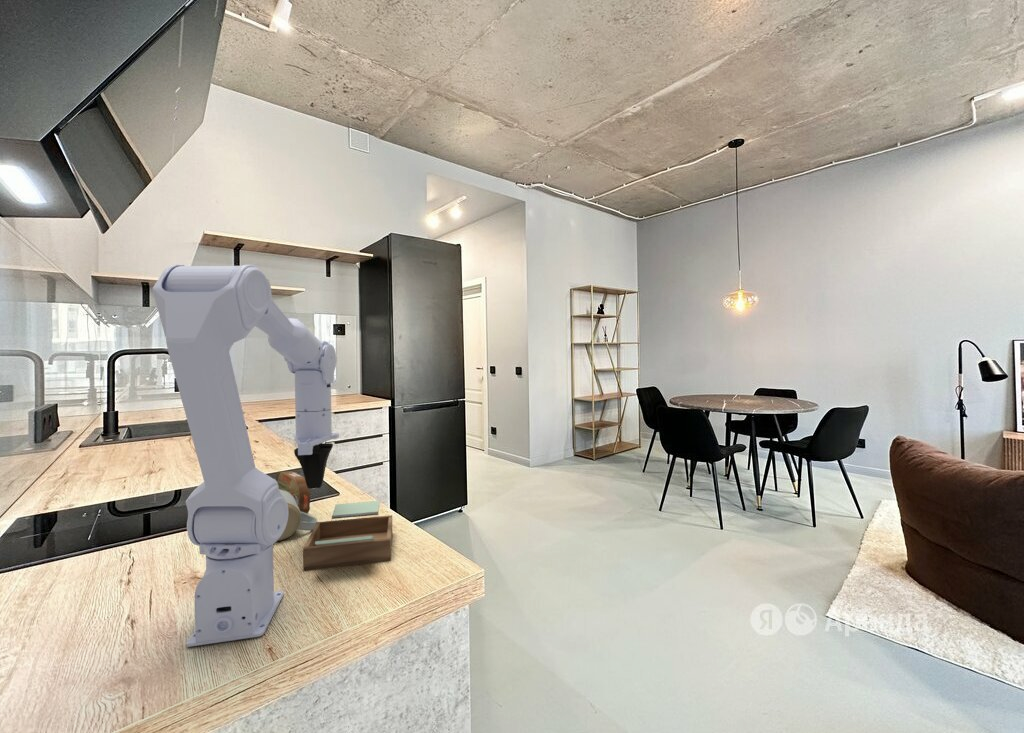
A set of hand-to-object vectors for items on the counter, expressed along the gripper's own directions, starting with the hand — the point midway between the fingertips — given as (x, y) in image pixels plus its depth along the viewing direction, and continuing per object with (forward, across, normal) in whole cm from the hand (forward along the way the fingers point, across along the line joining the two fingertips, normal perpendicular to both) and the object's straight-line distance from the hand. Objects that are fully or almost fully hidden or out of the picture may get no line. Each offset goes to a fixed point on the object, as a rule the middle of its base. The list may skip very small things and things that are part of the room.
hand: (314, 487), depth 75 cm
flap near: (+5, -11, -7) cm, 14 cm away
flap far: (+6, +3, -7) cm, 9 cm away
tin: (+10, +18, +8) cm, 22 cm away
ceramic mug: (+10, +7, +7) cm, 14 cm away
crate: (+10, -4, -6) cm, 13 cm away
